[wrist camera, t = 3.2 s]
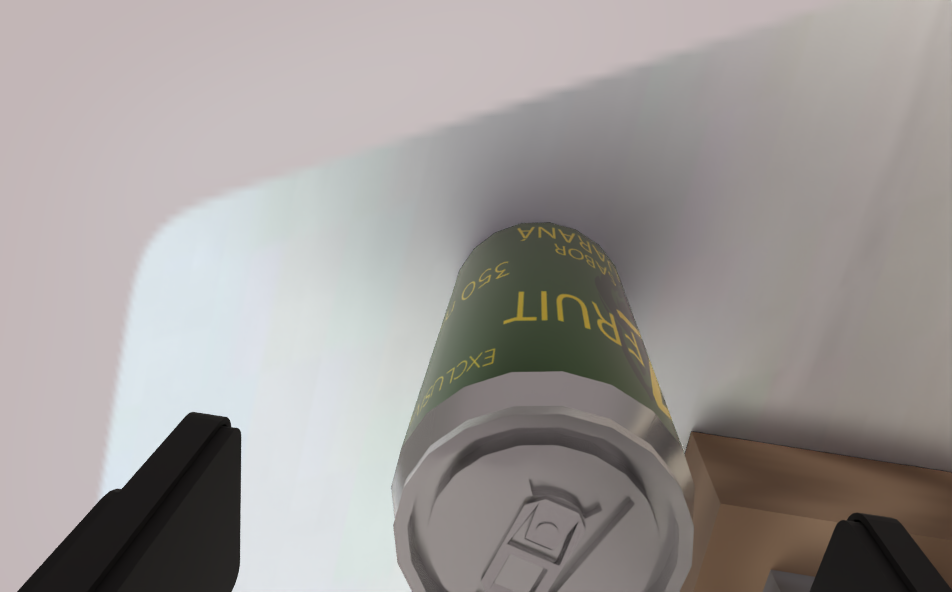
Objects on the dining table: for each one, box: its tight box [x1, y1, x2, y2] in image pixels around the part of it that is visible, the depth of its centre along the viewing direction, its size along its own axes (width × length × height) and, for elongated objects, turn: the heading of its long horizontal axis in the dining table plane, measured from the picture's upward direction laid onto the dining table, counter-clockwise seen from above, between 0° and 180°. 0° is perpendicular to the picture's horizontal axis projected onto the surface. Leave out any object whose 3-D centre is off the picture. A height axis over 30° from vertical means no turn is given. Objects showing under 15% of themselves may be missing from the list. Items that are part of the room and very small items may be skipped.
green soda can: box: [391, 222, 695, 592], centre depth 17 cm, size 5×5×12 cm
